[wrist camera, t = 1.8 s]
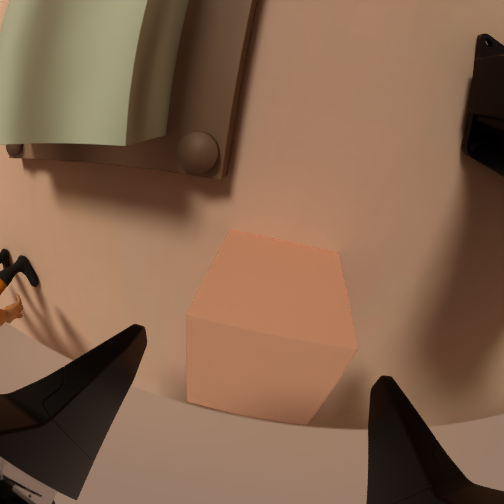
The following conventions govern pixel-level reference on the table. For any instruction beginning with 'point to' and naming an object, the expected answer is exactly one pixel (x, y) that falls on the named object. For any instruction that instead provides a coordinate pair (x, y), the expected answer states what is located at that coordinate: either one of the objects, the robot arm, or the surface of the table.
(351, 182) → the table surface
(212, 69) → the tower base
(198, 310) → the terracotta brick
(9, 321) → the action figure
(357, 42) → the table surface
